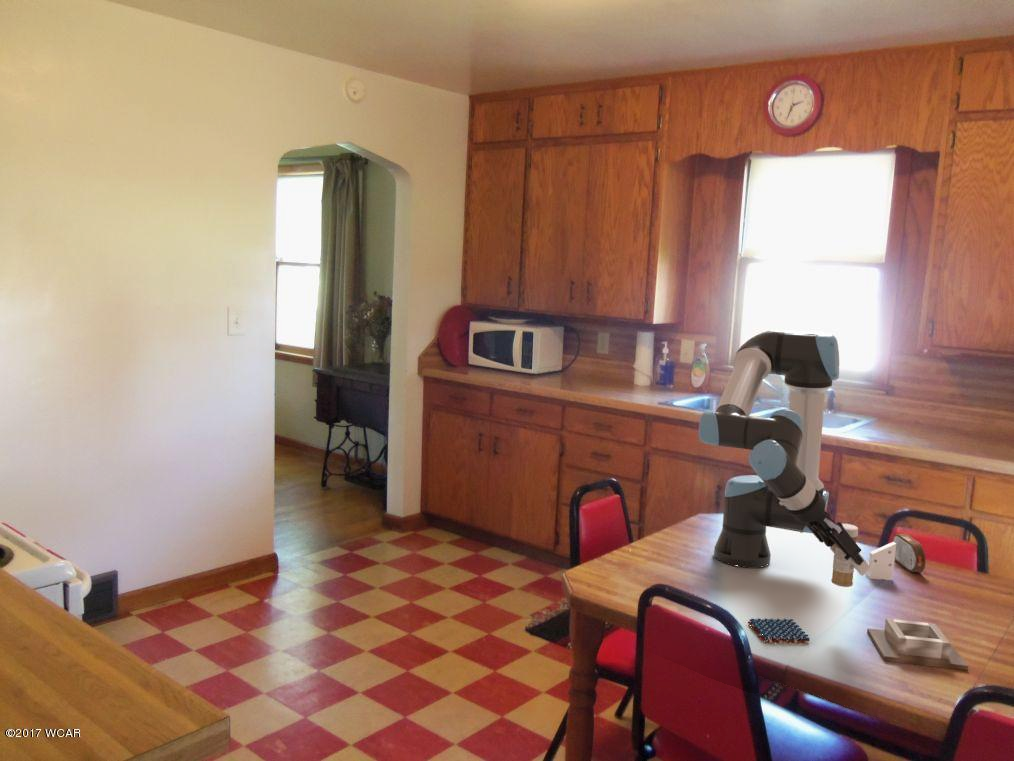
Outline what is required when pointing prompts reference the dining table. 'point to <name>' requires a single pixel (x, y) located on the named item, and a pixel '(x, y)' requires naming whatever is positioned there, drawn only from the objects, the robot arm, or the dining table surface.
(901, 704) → the dining table surface
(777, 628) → the woven mat
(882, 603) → the dining table surface
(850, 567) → the sprinkles bottle
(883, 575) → the white angled block
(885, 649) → the frame
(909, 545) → the tin
